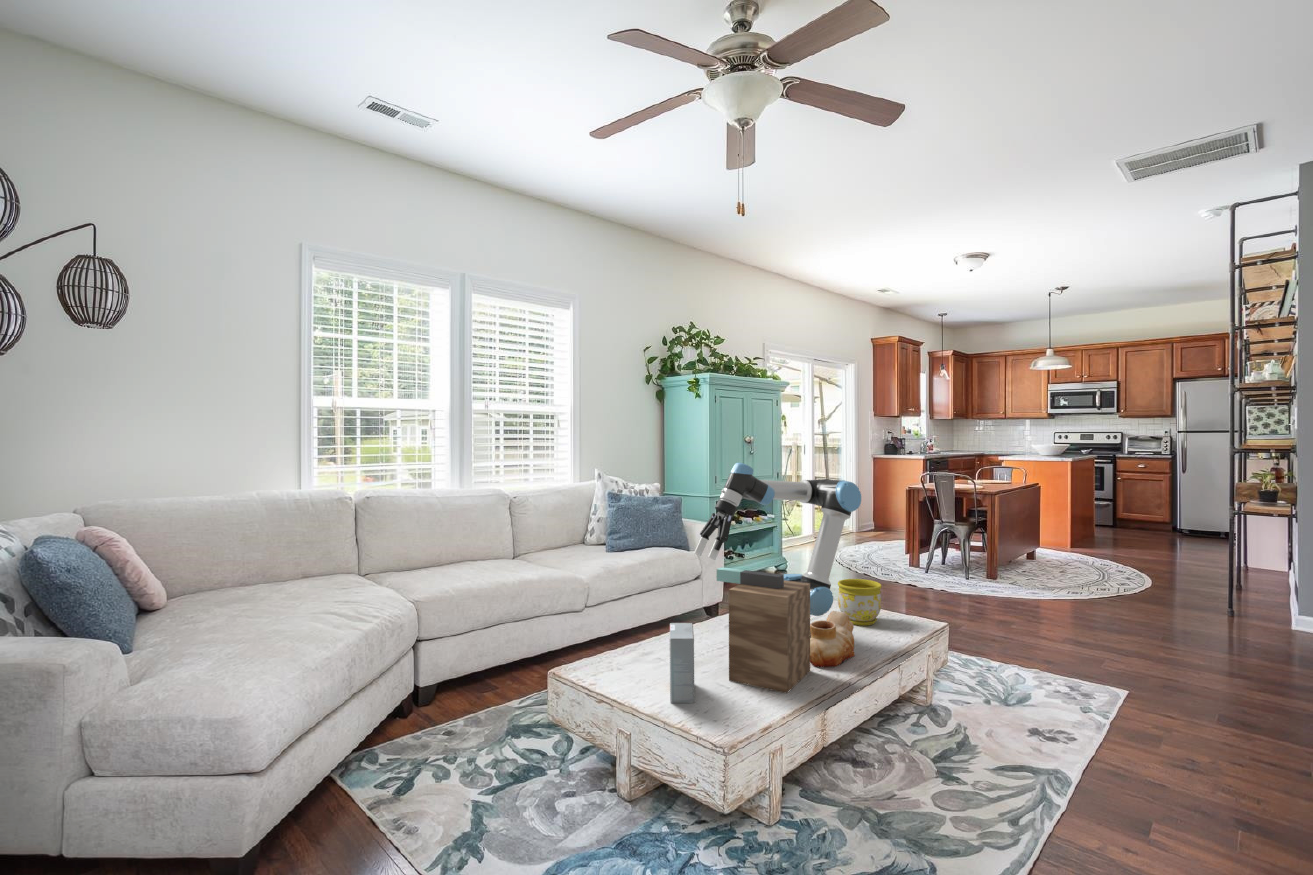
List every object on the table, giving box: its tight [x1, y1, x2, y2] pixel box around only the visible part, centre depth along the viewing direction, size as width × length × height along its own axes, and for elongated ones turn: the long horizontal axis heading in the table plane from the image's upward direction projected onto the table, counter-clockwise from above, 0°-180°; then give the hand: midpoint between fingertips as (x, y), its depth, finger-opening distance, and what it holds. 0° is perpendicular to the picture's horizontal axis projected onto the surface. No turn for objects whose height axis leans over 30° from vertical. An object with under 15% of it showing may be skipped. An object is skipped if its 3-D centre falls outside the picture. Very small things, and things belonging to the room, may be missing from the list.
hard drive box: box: [669, 622, 695, 704], centre depth 204 cm, size 16×8×20 cm, turn 178°
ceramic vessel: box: [810, 610, 855, 668], centre depth 235 cm, size 14×26×15 cm, turn 141°
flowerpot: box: [837, 578, 882, 627], centre depth 279 cm, size 18×18×16 cm
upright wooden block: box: [728, 580, 811, 694], centre depth 218 cm, size 22×20×30 cm
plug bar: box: [716, 566, 784, 589], centre depth 222 cm, size 23×4×4 cm, turn 58°
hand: (704, 556), depth 234 cm, fingers open, 13 cm apart
